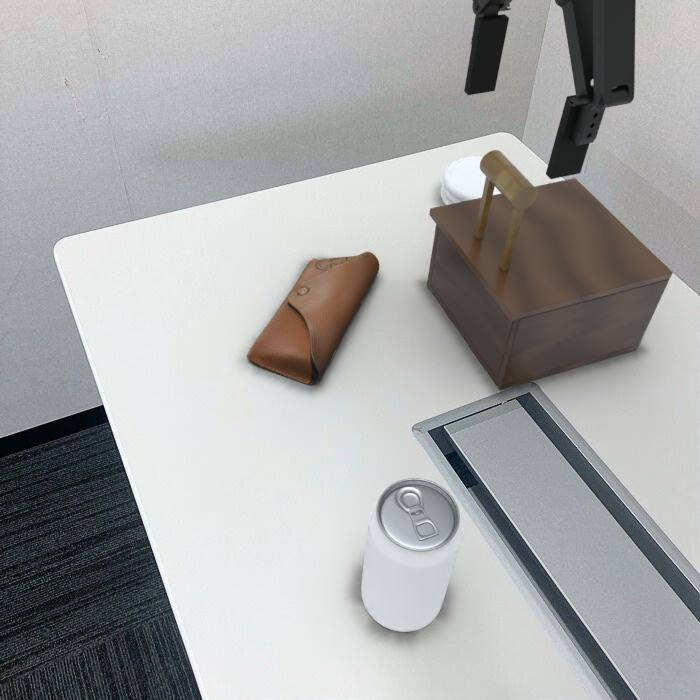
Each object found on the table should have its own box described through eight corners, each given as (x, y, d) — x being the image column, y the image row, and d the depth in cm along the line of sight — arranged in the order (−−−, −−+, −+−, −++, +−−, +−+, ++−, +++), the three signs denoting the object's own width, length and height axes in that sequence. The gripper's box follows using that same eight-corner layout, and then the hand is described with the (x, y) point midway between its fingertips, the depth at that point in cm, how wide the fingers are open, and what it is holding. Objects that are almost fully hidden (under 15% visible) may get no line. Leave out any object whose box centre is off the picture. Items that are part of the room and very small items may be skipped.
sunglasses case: (309, 254, 87) (338, 220, 82) (357, 291, 88) (389, 260, 83) (241, 361, 75) (271, 329, 70) (298, 401, 76) (330, 373, 71)
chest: (499, 390, 74) (520, 319, 67) (426, 284, 85) (437, 213, 78) (637, 349, 79) (670, 279, 72) (551, 254, 90) (573, 184, 82)
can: (420, 545, 62) (438, 461, 54) (457, 616, 58) (483, 537, 50) (348, 572, 60) (355, 489, 52) (381, 647, 56) (394, 570, 48)
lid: (510, 321, 67) (536, 229, 60) (428, 214, 77) (442, 124, 70) (670, 278, 72) (712, 188, 65) (573, 184, 82) (599, 97, 75)
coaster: (534, 204, 96) (540, 181, 94) (481, 233, 92) (486, 209, 89) (476, 169, 101) (481, 146, 99) (423, 195, 97) (427, 171, 94)
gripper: (446, -214, 54) (414, 67, 70) (665, -107, 39) (562, 225, 54) (535, -217, 56) (485, 57, 72) (776, -117, 41) (647, 205, 56)
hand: (518, 130), depth 63 cm, fingers open, 13 cm apart
